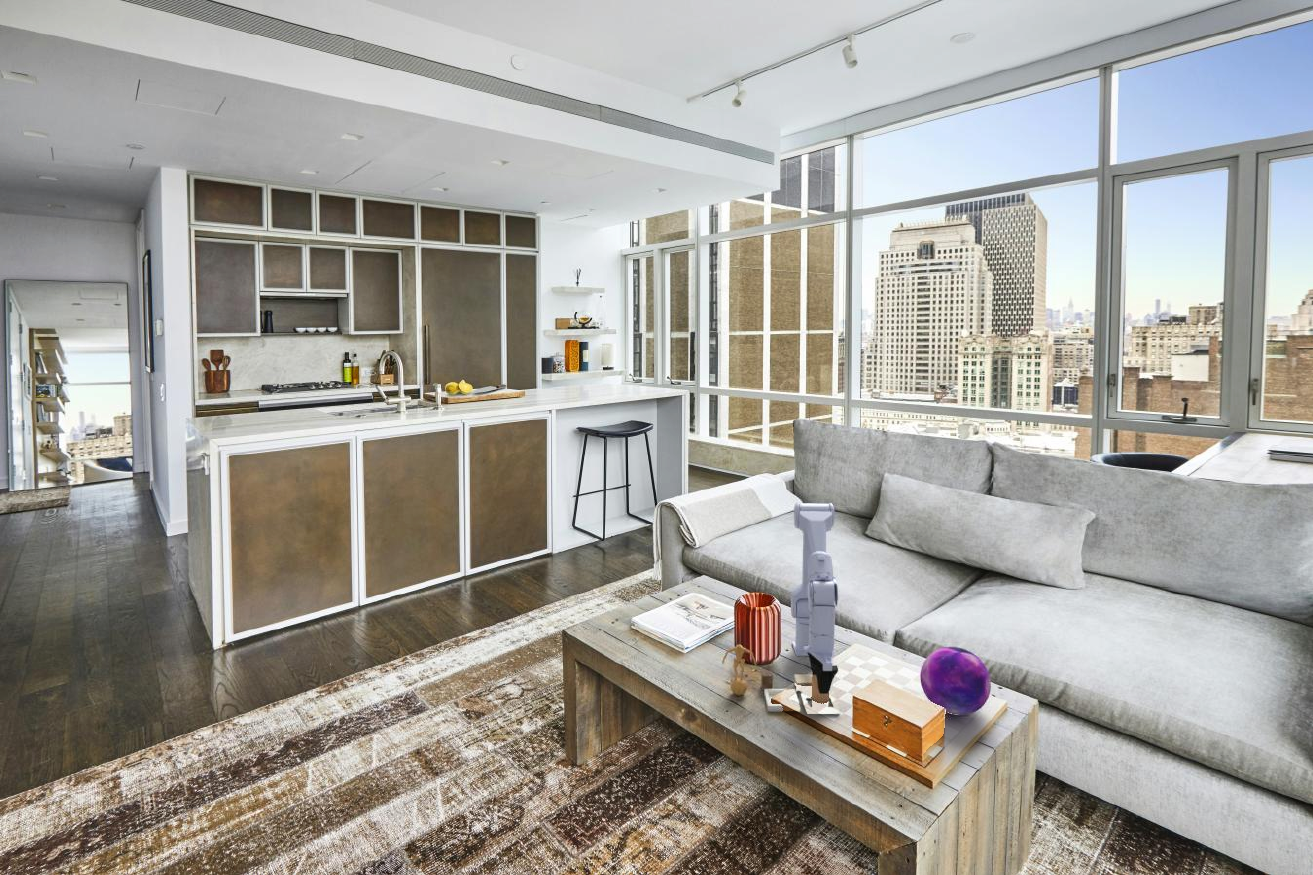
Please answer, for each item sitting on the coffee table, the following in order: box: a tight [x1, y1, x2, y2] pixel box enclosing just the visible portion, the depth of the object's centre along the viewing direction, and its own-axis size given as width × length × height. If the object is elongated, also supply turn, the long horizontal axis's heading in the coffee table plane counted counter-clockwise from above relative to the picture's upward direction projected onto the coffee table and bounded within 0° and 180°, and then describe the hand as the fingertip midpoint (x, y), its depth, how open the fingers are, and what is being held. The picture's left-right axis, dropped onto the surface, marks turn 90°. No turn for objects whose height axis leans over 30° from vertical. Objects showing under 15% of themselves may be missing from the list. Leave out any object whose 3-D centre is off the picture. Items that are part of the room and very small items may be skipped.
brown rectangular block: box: [760, 670, 774, 692], centre depth 174 cm, size 2×2×4 cm
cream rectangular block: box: [793, 673, 813, 686], centre depth 174 cm, size 7×4×2 cm, turn 88°
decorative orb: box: [920, 646, 992, 716], centre depth 162 cm, size 15×15×15 cm
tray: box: [763, 688, 786, 713], centre depth 168 cm, size 8×8×2 cm
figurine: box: [721, 644, 757, 696], centre depth 172 cm, size 8×6×12 cm
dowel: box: [811, 675, 830, 704], centre depth 166 cm, size 4×4×7 cm
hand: (820, 684), depth 165 cm, fingers open, 7 cm apart
